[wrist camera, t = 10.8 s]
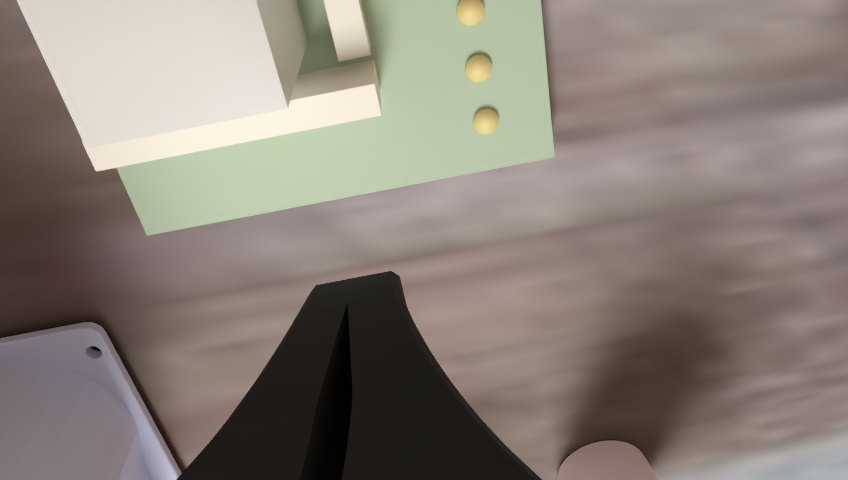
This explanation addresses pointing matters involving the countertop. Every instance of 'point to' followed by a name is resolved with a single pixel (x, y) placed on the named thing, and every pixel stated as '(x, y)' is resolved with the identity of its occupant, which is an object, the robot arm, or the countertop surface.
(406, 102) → the board
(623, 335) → the countertop surface
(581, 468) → the smoothie
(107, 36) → the white block
